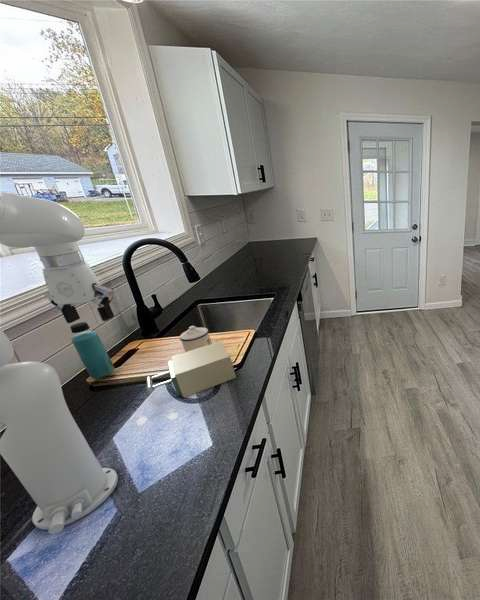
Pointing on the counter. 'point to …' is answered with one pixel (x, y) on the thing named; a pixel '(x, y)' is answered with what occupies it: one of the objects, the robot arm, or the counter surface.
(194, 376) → the drawer cabinet
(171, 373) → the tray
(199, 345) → the teacup with lid
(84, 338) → the beverage bottle
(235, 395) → the counter surface
